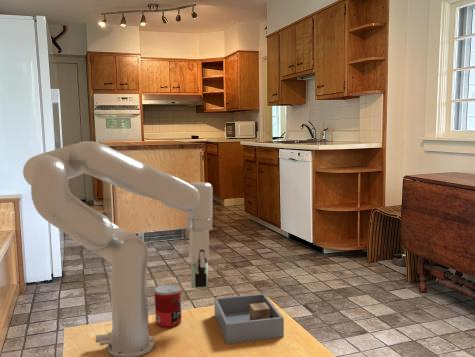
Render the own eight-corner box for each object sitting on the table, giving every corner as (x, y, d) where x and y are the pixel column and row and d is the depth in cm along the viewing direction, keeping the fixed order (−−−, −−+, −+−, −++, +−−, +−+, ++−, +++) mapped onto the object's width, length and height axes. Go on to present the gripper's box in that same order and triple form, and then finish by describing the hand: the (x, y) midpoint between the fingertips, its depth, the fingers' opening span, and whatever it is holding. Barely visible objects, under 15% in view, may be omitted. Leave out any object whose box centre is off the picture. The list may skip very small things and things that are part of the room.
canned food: (176, 329, 130) (175, 293, 129) (151, 327, 132) (150, 292, 131) (185, 318, 138) (184, 284, 136) (161, 316, 139) (159, 283, 138)
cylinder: (192, 289, 128) (192, 266, 128) (190, 284, 133) (190, 261, 133) (209, 288, 129) (209, 265, 129) (206, 283, 134) (206, 260, 134)
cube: (254, 326, 130) (253, 310, 129) (249, 319, 135) (249, 304, 134) (270, 324, 131) (270, 308, 130) (265, 317, 136) (265, 302, 135)
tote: (226, 343, 121) (226, 324, 120) (214, 315, 140) (214, 298, 139) (283, 336, 124) (283, 317, 124) (264, 309, 143) (264, 293, 143)
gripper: (184, 219, 137) (184, 275, 139) (190, 230, 121) (190, 294, 122) (207, 218, 139) (207, 274, 140) (217, 229, 122) (216, 292, 124)
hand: (199, 282), depth 131 cm, fingers closed on cylinder, 5 cm apart
